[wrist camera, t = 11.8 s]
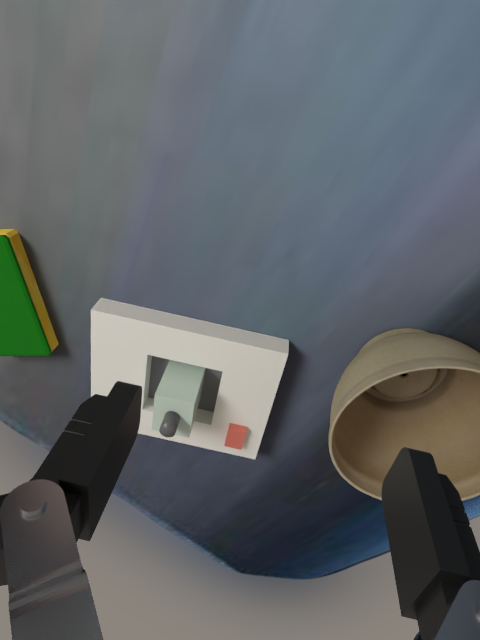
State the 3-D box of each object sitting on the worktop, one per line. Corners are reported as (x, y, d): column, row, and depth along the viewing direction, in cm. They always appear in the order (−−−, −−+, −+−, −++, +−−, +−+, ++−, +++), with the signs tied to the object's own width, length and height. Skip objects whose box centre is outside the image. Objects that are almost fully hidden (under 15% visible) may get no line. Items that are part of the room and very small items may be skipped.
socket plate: (288, 340, 44) (288, 358, 41) (256, 443, 53) (254, 464, 50) (100, 297, 44) (87, 313, 41) (99, 407, 53) (88, 427, 50)
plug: (206, 365, 47) (190, 417, 40) (200, 398, 49) (184, 452, 43) (170, 358, 47) (148, 408, 40) (166, 391, 49) (145, 444, 43)
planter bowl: (389, 442, 50) (409, 529, 41) (291, 362, 46) (289, 439, 36) (519, 367, 43) (580, 452, 33) (417, 263, 38) (455, 328, 29)
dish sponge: (4, 344, 50) (-9, 356, 48) (-46, 230, 43) (-64, 238, 40) (61, 344, 49) (50, 356, 47) (19, 227, 42) (4, 236, 39)
